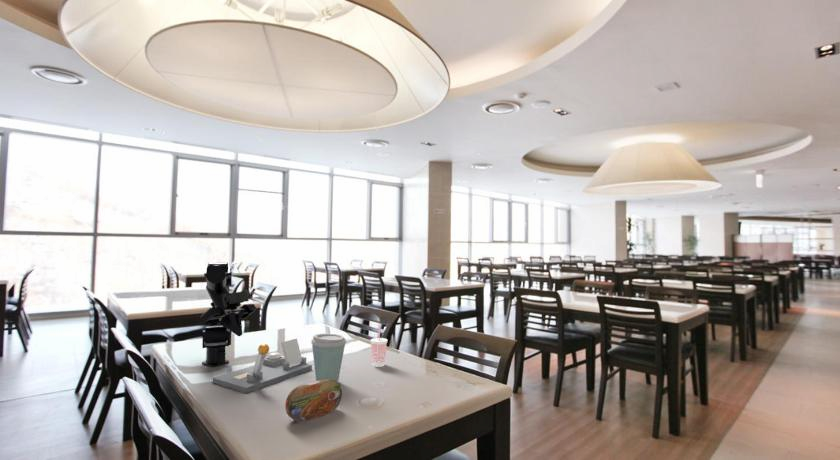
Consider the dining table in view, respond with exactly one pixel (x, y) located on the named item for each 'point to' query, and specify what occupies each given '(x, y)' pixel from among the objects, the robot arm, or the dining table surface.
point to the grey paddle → (291, 351)
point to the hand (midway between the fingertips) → (240, 335)
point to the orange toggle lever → (260, 359)
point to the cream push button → (274, 356)
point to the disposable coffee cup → (328, 355)
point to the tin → (313, 400)
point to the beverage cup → (378, 351)
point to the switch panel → (261, 375)
